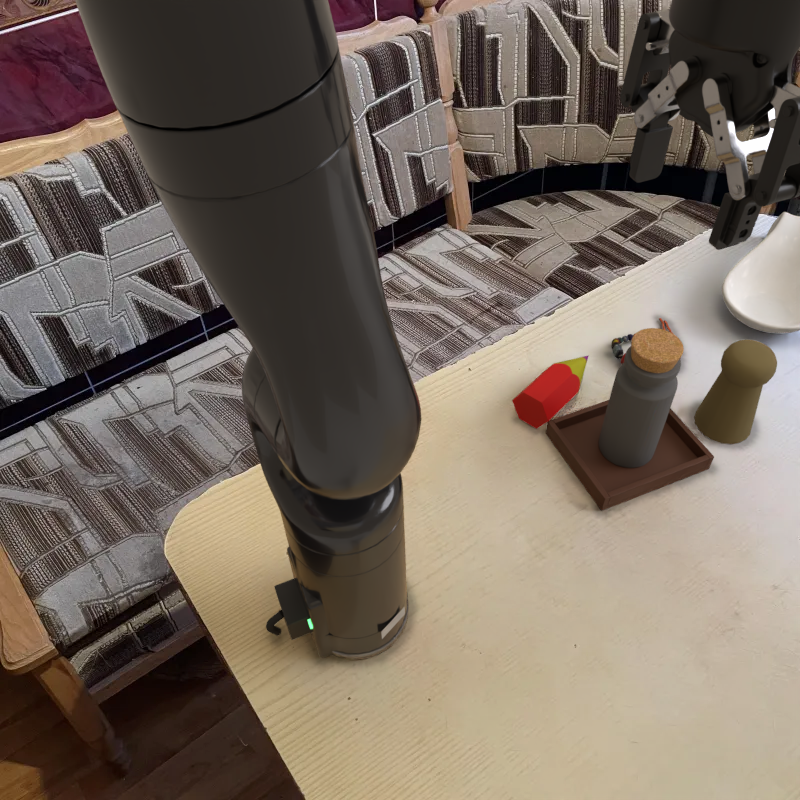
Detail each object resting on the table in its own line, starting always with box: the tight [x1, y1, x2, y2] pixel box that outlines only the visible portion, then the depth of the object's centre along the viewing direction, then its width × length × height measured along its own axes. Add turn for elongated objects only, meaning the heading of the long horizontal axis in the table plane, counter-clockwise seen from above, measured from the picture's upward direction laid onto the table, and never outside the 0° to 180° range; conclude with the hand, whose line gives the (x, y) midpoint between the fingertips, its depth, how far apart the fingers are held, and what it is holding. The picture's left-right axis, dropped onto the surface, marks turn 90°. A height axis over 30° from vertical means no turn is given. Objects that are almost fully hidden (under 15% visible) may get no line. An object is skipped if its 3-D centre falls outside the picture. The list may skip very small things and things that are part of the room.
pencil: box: [511, 355, 589, 430], centre depth 85 cm, size 5×12×4 cm, turn 138°
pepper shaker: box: [693, 339, 778, 445], centre depth 80 cm, size 6×6×11 cm
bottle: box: [599, 327, 685, 468], centre depth 75 cm, size 6×6×15 cm
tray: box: [544, 399, 715, 512], centre depth 80 cm, size 13×11×2 cm
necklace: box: [610, 317, 682, 366], centre depth 91 cm, size 8×11×2 cm
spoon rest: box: [721, 211, 800, 334], centre depth 96 cm, size 24×12×7 cm, turn 155°
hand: (682, 209), depth 50 cm, fingers open, 8 cm apart
